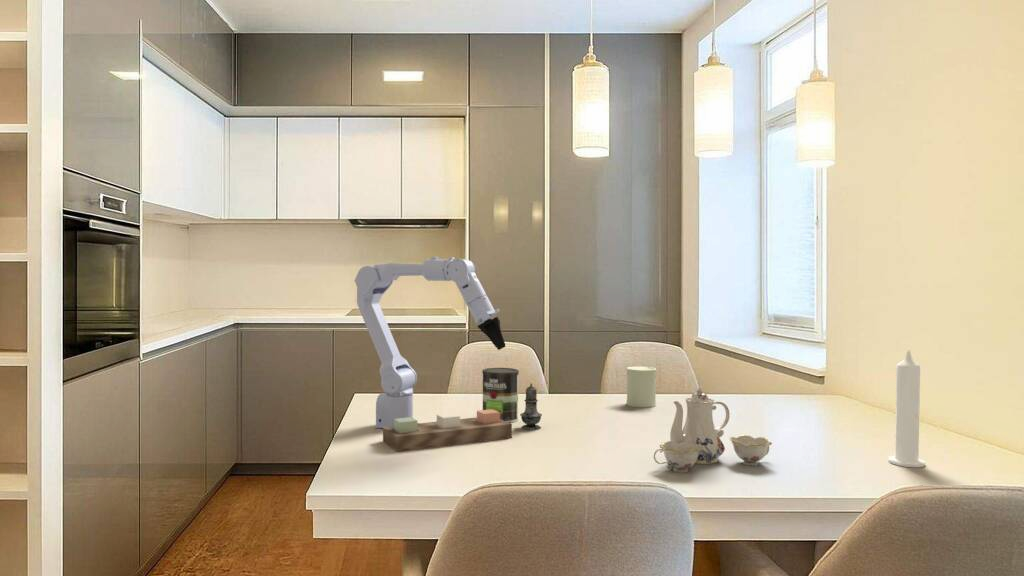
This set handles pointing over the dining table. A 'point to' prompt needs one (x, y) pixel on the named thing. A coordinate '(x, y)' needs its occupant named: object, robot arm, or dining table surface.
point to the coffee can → (501, 392)
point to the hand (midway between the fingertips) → (501, 347)
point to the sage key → (405, 425)
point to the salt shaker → (531, 410)
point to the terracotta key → (488, 416)
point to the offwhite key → (448, 420)
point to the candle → (907, 414)
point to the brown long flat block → (446, 434)
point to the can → (641, 386)
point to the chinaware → (705, 437)
